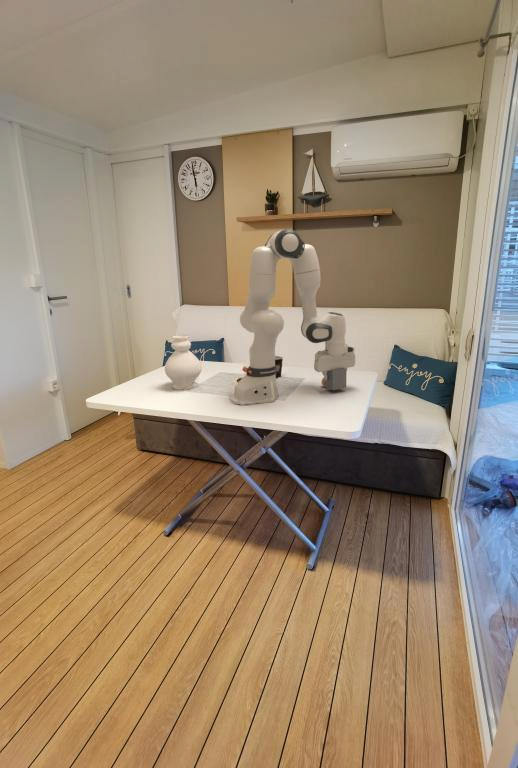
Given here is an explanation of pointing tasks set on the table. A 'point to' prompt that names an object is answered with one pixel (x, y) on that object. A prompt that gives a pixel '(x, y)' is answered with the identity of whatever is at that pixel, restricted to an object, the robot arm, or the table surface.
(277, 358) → the coffee mug
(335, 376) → the grey block
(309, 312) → the robot arm
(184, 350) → the decorative vase
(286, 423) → the table surface
